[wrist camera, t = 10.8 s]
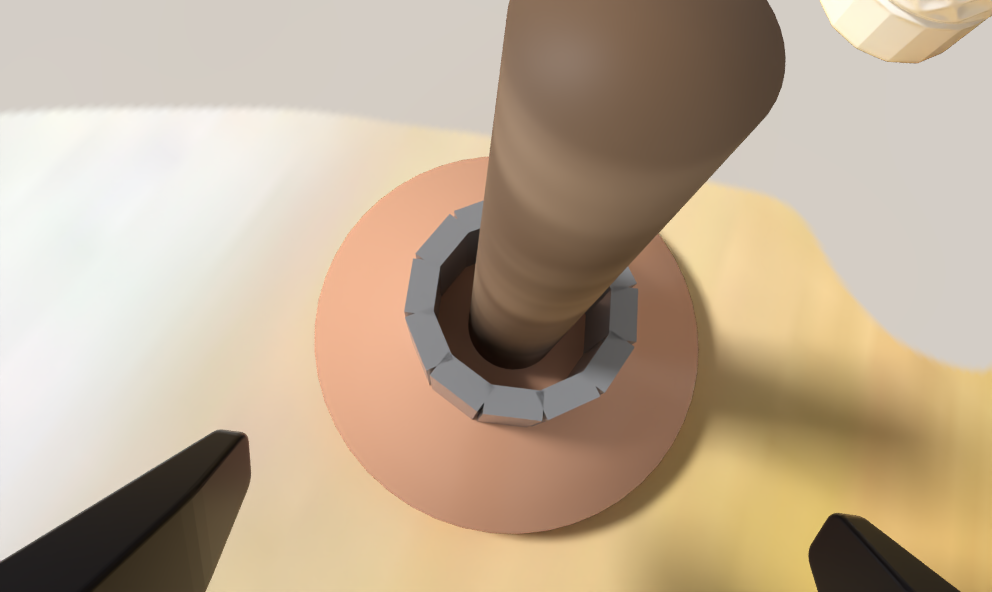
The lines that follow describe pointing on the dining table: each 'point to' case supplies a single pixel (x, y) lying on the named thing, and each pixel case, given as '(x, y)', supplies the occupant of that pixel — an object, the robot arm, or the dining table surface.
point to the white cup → (905, 25)
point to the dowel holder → (495, 371)
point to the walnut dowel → (605, 148)
